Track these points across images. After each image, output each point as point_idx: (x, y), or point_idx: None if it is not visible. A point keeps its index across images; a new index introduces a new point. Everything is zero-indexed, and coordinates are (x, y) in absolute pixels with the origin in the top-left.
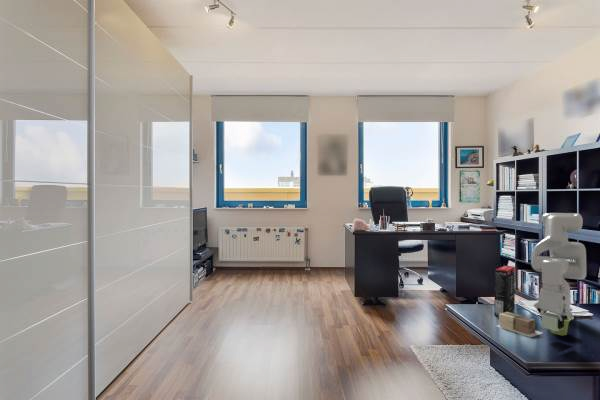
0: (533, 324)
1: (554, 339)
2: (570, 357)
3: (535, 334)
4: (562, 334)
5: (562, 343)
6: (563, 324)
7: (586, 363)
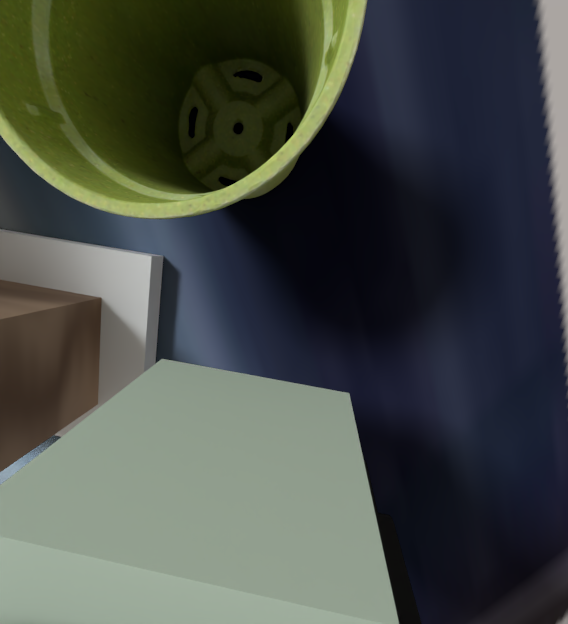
0: (33, 346)
1: (256, 289)
2: (441, 576)
3: (131, 361)
4: (284, 175)
5: (329, 338)
6: (394, 562)
7: (541, 607)
